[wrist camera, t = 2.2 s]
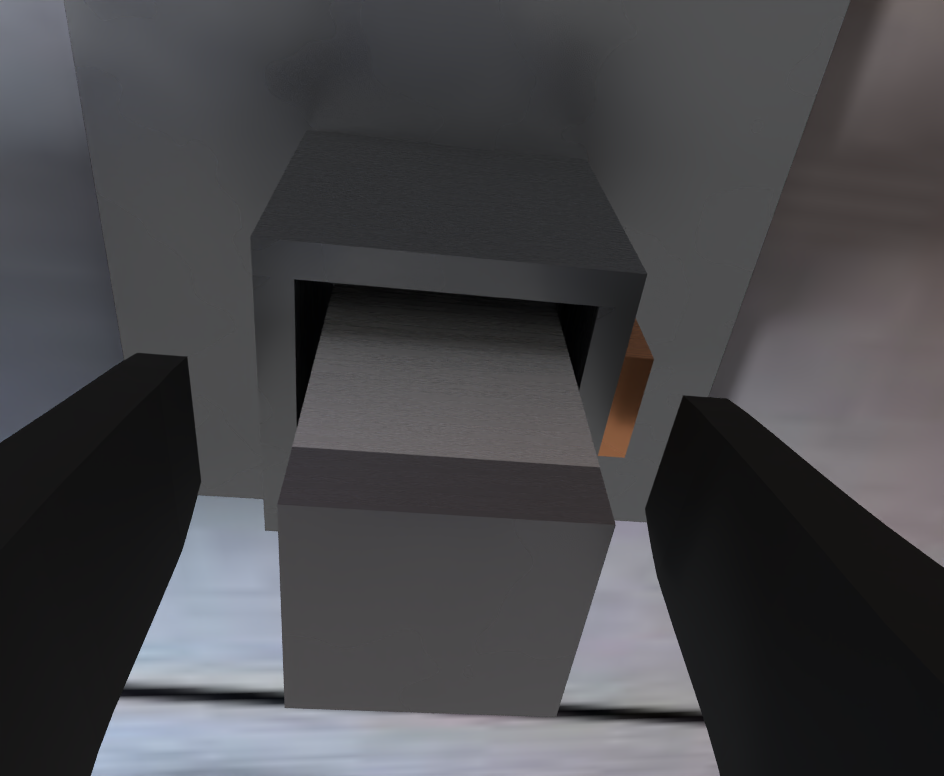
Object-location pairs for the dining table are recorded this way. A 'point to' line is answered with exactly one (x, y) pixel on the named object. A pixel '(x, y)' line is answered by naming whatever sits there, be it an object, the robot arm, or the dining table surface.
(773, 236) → the dining table surface
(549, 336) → the column
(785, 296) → the dining table surface
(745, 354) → the dining table surface
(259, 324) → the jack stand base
